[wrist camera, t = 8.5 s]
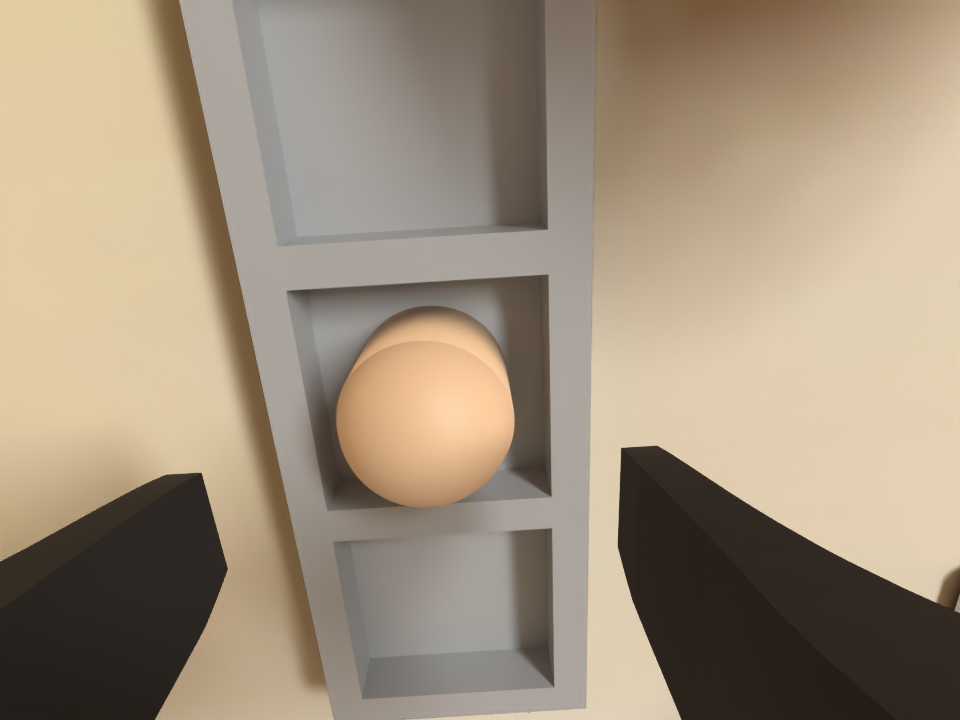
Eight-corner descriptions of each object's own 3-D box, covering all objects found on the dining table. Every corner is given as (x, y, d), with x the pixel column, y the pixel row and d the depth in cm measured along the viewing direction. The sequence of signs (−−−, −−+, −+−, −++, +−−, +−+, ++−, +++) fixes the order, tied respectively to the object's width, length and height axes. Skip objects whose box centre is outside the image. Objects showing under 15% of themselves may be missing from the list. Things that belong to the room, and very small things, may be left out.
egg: (503, 300, 14) (518, 362, 10) (509, 437, 16) (524, 540, 11) (349, 310, 14) (299, 375, 10) (369, 445, 16) (333, 552, 11)
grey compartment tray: (576, -122, 12) (599, -178, 10) (573, 651, 19) (586, 708, 17) (200, -98, 12) (146, -150, 10) (348, 666, 19) (334, 723, 17)
